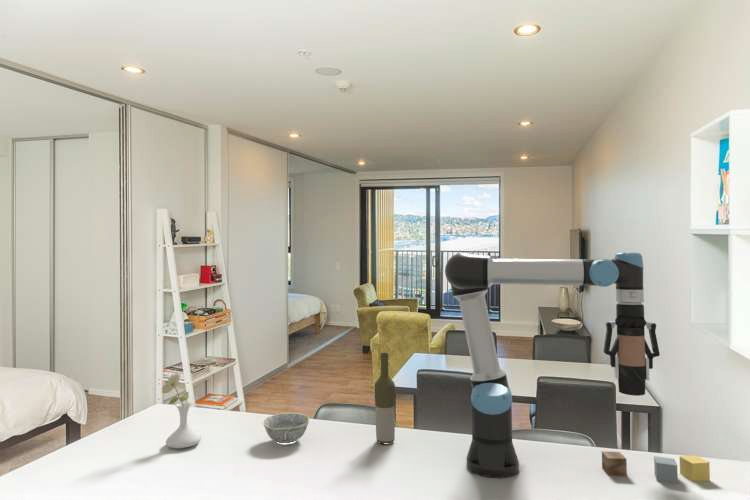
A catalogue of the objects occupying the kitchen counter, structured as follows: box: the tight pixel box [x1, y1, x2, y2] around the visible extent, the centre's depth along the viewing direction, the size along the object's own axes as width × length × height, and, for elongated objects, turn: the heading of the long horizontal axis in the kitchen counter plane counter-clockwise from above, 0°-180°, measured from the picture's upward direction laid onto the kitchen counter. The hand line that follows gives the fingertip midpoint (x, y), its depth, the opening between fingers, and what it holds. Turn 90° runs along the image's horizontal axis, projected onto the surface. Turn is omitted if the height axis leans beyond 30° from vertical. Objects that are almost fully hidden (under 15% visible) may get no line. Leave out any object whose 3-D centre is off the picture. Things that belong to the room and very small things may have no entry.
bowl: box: [262, 412, 311, 443], centre depth 169 cm, size 16×16×8 cm
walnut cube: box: [601, 450, 628, 477], centre depth 142 cm, size 5×5×5 cm
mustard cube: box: [679, 455, 711, 482], centre depth 138 cm, size 5×5×5 cm
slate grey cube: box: [653, 455, 679, 485], centre depth 137 cm, size 5×5×5 cm
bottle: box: [374, 352, 396, 444], centre depth 168 cm, size 7×7×30 cm
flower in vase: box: [161, 372, 202, 449], centre depth 166 cm, size 13×11×25 cm
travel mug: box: [616, 325, 646, 397], centre depth 149 cm, size 8×8×20 cm
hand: (631, 378), depth 149 cm, fingers closed on travel mug, 8 cm apart
